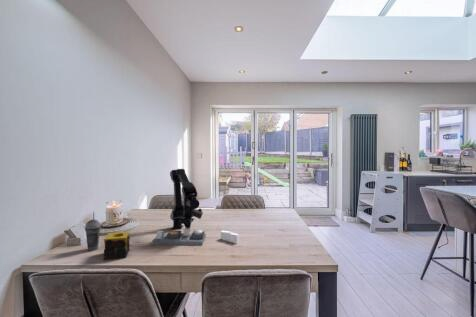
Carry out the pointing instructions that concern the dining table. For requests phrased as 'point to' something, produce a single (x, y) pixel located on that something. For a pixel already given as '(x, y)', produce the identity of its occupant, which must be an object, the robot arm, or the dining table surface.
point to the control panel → (180, 239)
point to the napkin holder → (230, 236)
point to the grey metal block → (160, 234)
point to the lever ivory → (186, 231)
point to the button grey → (197, 232)
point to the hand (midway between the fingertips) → (188, 231)
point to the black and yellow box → (116, 245)
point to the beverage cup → (92, 234)
